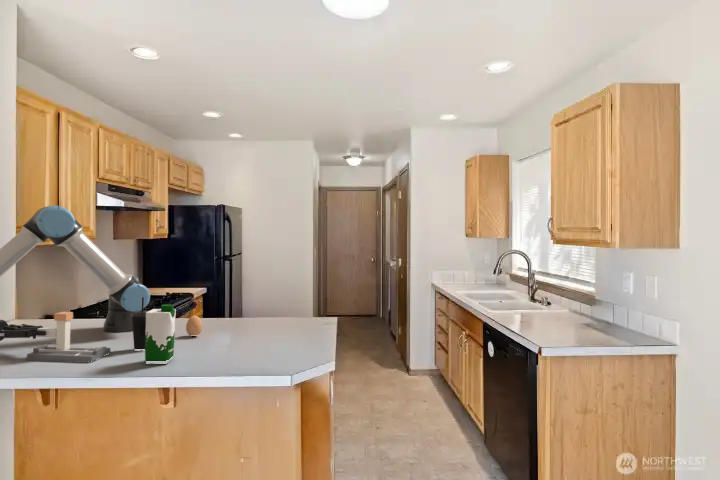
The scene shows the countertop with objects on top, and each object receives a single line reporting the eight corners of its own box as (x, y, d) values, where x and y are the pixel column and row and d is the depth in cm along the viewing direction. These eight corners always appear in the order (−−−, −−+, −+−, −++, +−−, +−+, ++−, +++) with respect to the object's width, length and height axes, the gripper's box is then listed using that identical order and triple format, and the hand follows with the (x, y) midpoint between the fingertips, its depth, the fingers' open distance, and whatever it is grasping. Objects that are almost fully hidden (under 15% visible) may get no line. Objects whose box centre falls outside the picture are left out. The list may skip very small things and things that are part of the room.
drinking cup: (156, 348, 180) (158, 297, 180) (141, 353, 173) (143, 299, 173) (141, 346, 183) (142, 295, 183) (125, 350, 176) (127, 297, 175)
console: (26, 360, 160) (27, 350, 160) (50, 350, 172) (50, 342, 172) (91, 362, 160) (91, 353, 160) (110, 353, 172) (110, 344, 172)
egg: (204, 335, 205) (205, 314, 205) (197, 338, 198) (198, 317, 198) (190, 334, 206) (190, 313, 206) (182, 337, 199) (183, 316, 199)
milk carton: (168, 365, 160) (170, 307, 159) (141, 365, 159) (142, 306, 159) (176, 358, 168) (178, 303, 168) (150, 358, 168) (152, 302, 167)
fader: (53, 351, 164) (54, 313, 163) (60, 348, 168) (61, 311, 167) (65, 351, 164) (66, 314, 163) (72, 348, 168) (73, 312, 167)
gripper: (4, 336, 171) (68, 339, 171) (-26, 345, 158) (44, 348, 158) (4, 316, 171) (69, 318, 171) (-25, 323, 158) (44, 326, 158)
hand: (57, 332), depth 165 cm, fingers closed
